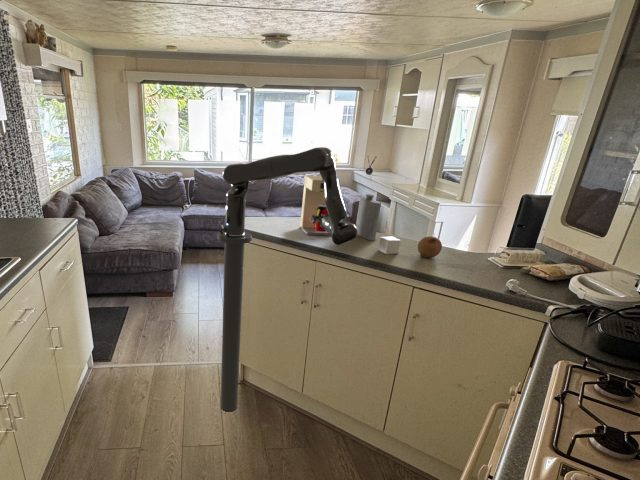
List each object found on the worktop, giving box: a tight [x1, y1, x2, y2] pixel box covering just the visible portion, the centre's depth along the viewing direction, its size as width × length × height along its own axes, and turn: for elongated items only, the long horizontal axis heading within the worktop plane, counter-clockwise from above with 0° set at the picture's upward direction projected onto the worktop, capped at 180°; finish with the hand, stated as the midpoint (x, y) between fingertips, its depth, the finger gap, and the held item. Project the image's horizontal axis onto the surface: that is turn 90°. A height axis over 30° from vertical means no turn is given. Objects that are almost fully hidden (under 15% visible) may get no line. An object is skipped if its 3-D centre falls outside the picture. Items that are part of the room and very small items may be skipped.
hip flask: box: [355, 193, 382, 242], centre depth 206 cm, size 16×4×20 cm, turn 15°
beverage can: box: [315, 204, 328, 232], centre depth 203 cm, size 6×6×12 cm
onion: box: [417, 235, 443, 259], centre depth 181 cm, size 10×9×10 cm
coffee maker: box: [299, 175, 341, 236], centre depth 209 cm, size 14×13×26 cm
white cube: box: [377, 235, 401, 255], centre depth 186 cm, size 6×6×6 cm
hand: (321, 216), depth 205 cm, fingers closed on beverage can, 6 cm apart
